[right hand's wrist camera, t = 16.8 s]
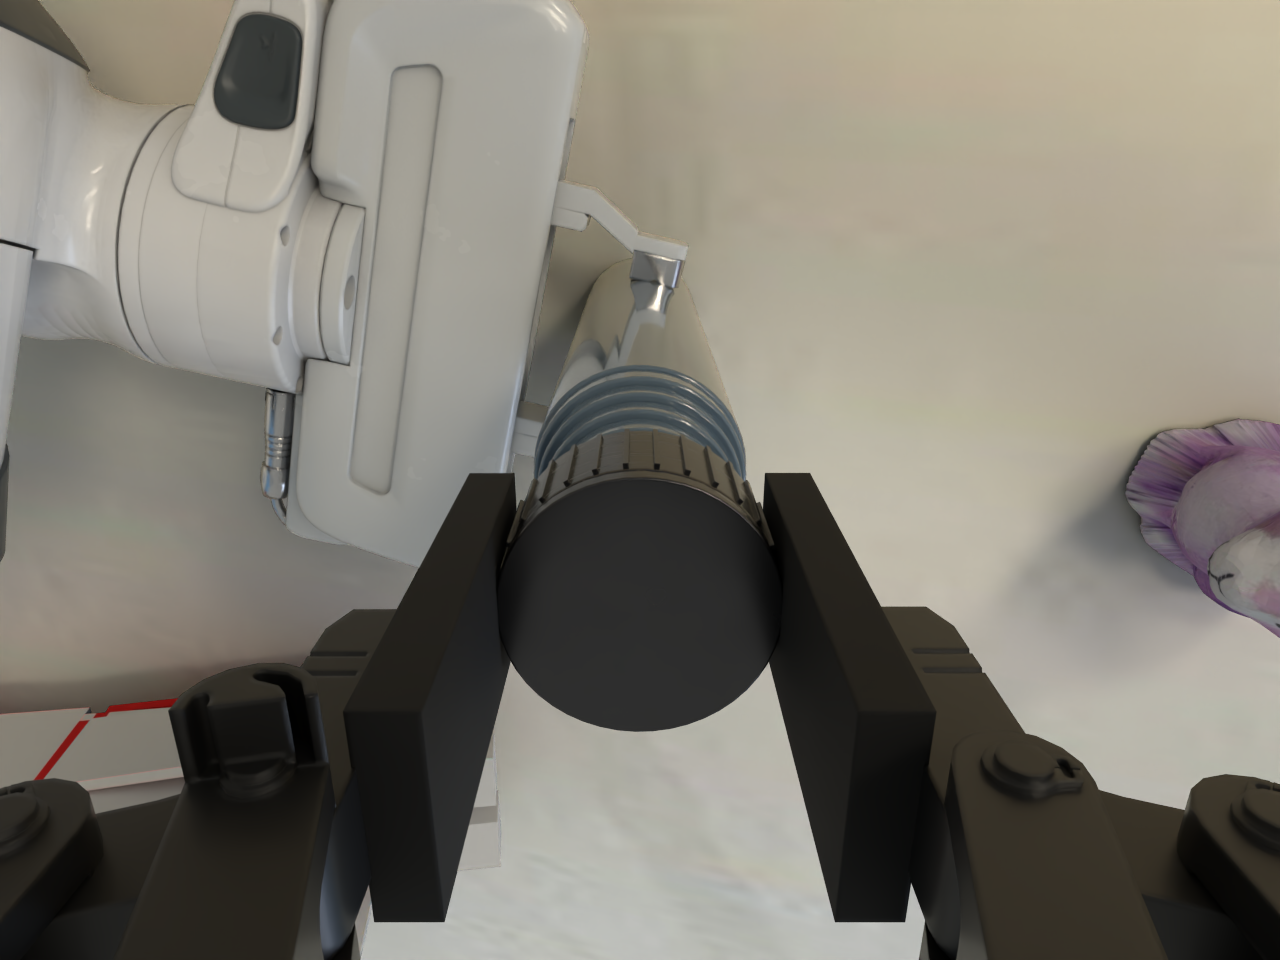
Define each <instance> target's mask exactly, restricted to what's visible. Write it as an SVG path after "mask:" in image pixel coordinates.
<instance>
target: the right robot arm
mask: <svg viewBox="0 0 1280 960" xmlns="http://www.w3.org/2000/svg"><path fill="white" fill-rule="evenodd" d="M763 512H764V514H765V517H766V520H767V523H768V526H769V529H770V532H771V535H772V537H773V540H774V543H775V546H776V549H773V552H774V555H775V559H776V561H777V564H778V567H779V571H780V575H781V579H782V582H783V601H782V616H781V629H780V637H779V640H778V642H777V645H776V648H775V650H774V652H773V654H772V656H771V658H770V660H769V664H770V668H771V672H772V676H773V679H774V683H775V687H776V691H777V695H778V699H779V703H780V707H781V711H782V715H783V719H784V723H785V727H786V731H787V735H788V739H789V743H790V746H791V750H792V754H793V758H794V762H795V766H796V770H797V774H798V778H799V782H800V786H801V790H802V794H803V798H804V802H805V806H806V810H807V814H808V817H809V821H810V825H811V829H812V833H813V837H814V841H815V845H816V849H817V853H818V857H819V861H820V865H821V869H822V873H823V877H824V881H825V885H826V888H827V892H828V896H829V900H830V904H831V908H832V912H833V916H834V920H835V922H905V919H906V913H907V906H908V899H909V893H910V886H911V883H912V886H913V889H914V891H915V894H916V897H917V899H918V902H919V905H920V907H921V910H922V913H923V915H924V918H925V925H924V931H923V938H922V944H921V950H920V956H919V960H1280V784H1277V783H1272V782H1270V781H1267V780H1262V779H1259V778H1256V777H1247V776H1238V775H1228V774H1224V775H1219V776H1213V777H1208V778H1203V779H1202V780H1201V781H1200V782H1199V783H1198V784H1196V785H1195V786H1194V787H1193V788H1192V789H1191V791H1190V795H1189V798H1188V802H1187V805H1186V808H1185V810H1182V809H1177V808H1172V807H1168V806H1163V805H1158V804H1154V803H1149V802H1144V801H1140V800H1135V799H1131V798H1126V797H1122V796H1118V795H1115V794H1111V793H1108V792H1104V791H1101V790H1098V787H1097V785H1096V782H1095V781H1094V779H1093V778H1092V776H1091V775H1090V773H1089V772H1088V771H1087V769H1086V768H1085V766H1084V765H1083V764H1082V763H1081V762H1080V761H1079V760H1077V759H1076V758H1075V757H1073V756H1072V755H1071V754H1069V753H1068V752H1067V751H1065V750H1064V749H1063V748H1061V747H1059V746H1057V745H1055V744H1052V743H1050V742H1048V741H1046V740H1044V739H1042V738H1039V737H1037V736H1034V735H1029V734H1025V732H1024V731H1023V729H1022V728H1021V726H1020V725H1019V723H1018V722H1017V720H1016V719H1015V717H1014V716H1013V714H1012V713H1011V711H1010V710H1009V708H1008V707H1007V705H1006V704H1005V702H1004V701H1003V699H1002V698H1001V696H1000V695H999V693H998V692H997V690H996V689H995V687H994V686H993V684H992V683H991V681H990V680H989V678H988V677H987V675H986V674H985V673H982V668H981V666H980V664H979V663H978V661H977V660H976V658H975V657H974V655H973V654H970V653H969V648H968V646H967V645H966V643H965V642H964V640H963V639H962V637H961V636H960V634H959V633H958V631H957V630H956V628H955V627H954V626H953V625H952V624H950V623H949V622H947V621H946V620H944V619H943V618H941V617H940V616H939V615H937V614H936V613H934V612H933V611H931V610H930V609H929V608H927V607H881V606H880V604H879V602H878V600H877V598H876V596H875V595H874V593H873V591H872V589H871V587H870V585H869V583H868V581H867V579H866V578H865V576H864V574H863V572H862V570H861V568H860V566H859V564H858V563H857V561H856V559H855V557H854V555H853V553H852V551H851V549H850V548H849V546H848V544H847V542H846V540H845V538H844V536H843V534H842V532H841V531H840V529H839V527H838V525H837V523H836V521H835V519H834V517H833V516H832V514H831V512H830V510H829V508H828V506H827V504H826V502H825V500H824V499H823V497H822V495H821V493H820V491H819V489H818V487H817V485H816V484H815V482H814V480H813V478H812V476H811V474H810V473H765V483H764V501H763ZM515 514H516V493H515V476H514V473H469V475H468V477H467V479H466V481H465V482H464V484H463V486H462V488H461V490H460V492H459V494H458V496H457V497H456V499H455V501H454V503H453V505H452V507H451V509H450V511H449V513H448V514H447V516H446V518H445V520H444V522H443V524H442V526H441V528H440V529H439V531H438V533H437V535H436V537H435V539H434V541H433V543H432V544H431V546H430V548H429V550H428V552H427V554H426V556H425V558H424V560H423V561H422V563H421V565H420V567H419V569H418V571H417V573H416V575H415V576H414V578H413V580H412V582H411V584H410V586H409V588H408V590H407V591H406V593H405V595H404V597H403V599H402V601H401V603H400V605H399V607H398V608H397V609H354V610H352V611H351V612H349V613H348V614H346V615H345V616H344V617H342V618H341V619H339V620H338V621H336V622H335V623H334V624H332V625H331V626H329V627H328V628H326V629H325V631H324V632H323V634H322V635H321V637H320V638H319V640H318V641H317V643H316V644H315V646H314V648H313V649H312V651H311V655H310V656H309V657H307V658H306V660H305V661H304V663H303V664H302V666H301V667H296V666H292V665H289V664H285V663H257V664H253V665H248V666H243V667H238V668H233V669H229V670H227V671H224V672H222V673H219V674H217V675H214V676H212V677H209V678H207V679H204V680H202V681H201V682H199V683H198V684H196V685H195V686H193V687H192V688H190V689H189V690H187V691H186V692H184V693H183V694H181V696H180V697H179V698H178V699H177V700H176V702H175V703H174V704H173V705H172V707H171V708H170V709H169V710H168V713H169V717H170V721H171V726H172V730H173V734H174V738H175V742H176V747H177V751H178V755H179V759H180V763H181V768H182V772H183V776H184V780H185V784H184V786H183V789H182V791H181V794H177V795H174V796H170V797H167V798H163V799H160V800H156V801H152V802H147V803H143V804H138V805H133V806H129V807H124V808H120V809H115V810H110V811H106V812H101V813H97V814H95V811H94V807H93V804H92V801H91V797H90V794H89V792H88V791H87V790H85V789H84V788H83V787H82V786H81V785H80V784H78V783H77V782H74V781H68V780H63V779H57V778H50V779H40V780H31V781H24V782H21V783H17V784H13V785H11V786H8V787H7V786H6V787H3V788H0V960H360V951H359V944H358V938H357V931H356V925H355V921H356V918H357V916H358V913H359V910H360V907H361V905H362V902H363V899H364V897H365V894H366V891H367V888H368V886H369V890H370V897H371V903H372V910H373V917H374V922H445V918H446V914H447V910H448V906H449V902H450V898H451V894H452V890H453V886H454V882H455V878H456V874H457V870H458V866H459V863H460V859H461V855H462V851H463V847H464V843H465V839H466V835H467V831H468V827H469V823H470V819H471V815H472V811H473V807H474V803H475V799H476V796H477V792H478V788H479V784H480V780H481V776H482V772H483V768H484V764H485V760H486V756H487V752H488V748H489V744H490V740H491V736H492V732H493V728H494V725H495V721H496V717H497V713H498V709H499V705H500V701H501V697H502V693H503V689H504V685H505V681H506V677H507V673H508V669H509V665H510V661H511V660H510V659H509V657H508V655H507V653H506V650H505V648H504V646H503V643H502V641H501V638H500V634H499V624H498V610H497V594H496V588H497V583H498V578H499V573H500V567H501V564H502V561H503V558H504V555H505V552H506V549H507V547H506V546H505V543H506V540H507V537H508V534H509V531H510V529H511V526H512V523H513V520H514V517H515Z"/></svg>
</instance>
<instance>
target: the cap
mask: <svg viewBox="0 0 1280 960" xmlns="http://www.w3.org/2000/svg"><path fill="white" fill-rule="evenodd" d="M505 546H506V547H507V549H506V552H505V555H504V558H503V561H502V564H501V567H500V573H499V578H498V583H497V588H496V594H497V610H498V624H499V634H500V638H501V641H502V643H503V646H504V648H505V650H506V653H507V655H508V657H509V659H510V660H511V662H512V664H513V665H514V667H515V669H516V670H517V672H518V673H519V674H520V676H521V677H522V678H523V679H524V681H525V682H526V683H527V684H528V685H529V686H530V687H531V688H532V689H533V690H534V691H535V692H536V693H537V694H538V695H539V696H540V697H542V698H543V699H544V700H546V701H547V702H548V703H550V704H551V705H552V706H554V707H555V708H557V709H559V710H561V711H562V712H564V713H566V714H567V715H570V716H572V717H574V718H576V719H579V720H581V721H583V722H587V723H590V724H593V725H596V726H599V727H604V728H609V729H614V730H622V731H634V732H638V731H658V730H665V729H671V728H676V727H680V726H684V725H688V724H690V723H693V722H696V721H698V720H701V719H704V718H706V717H708V716H710V715H712V714H714V713H716V712H718V711H720V710H721V709H723V708H724V707H726V706H727V705H729V704H730V703H732V702H733V701H734V700H736V699H737V698H738V697H739V696H740V695H741V694H743V693H744V692H745V691H746V690H747V689H748V688H749V687H750V686H751V685H752V684H753V683H754V681H755V680H756V679H757V678H758V677H759V675H760V674H761V673H762V671H763V670H764V668H765V667H766V665H767V664H768V662H769V660H770V658H771V656H772V654H773V652H774V650H775V648H776V645H777V642H778V640H779V637H780V629H781V616H782V601H783V582H782V579H781V575H780V571H779V567H778V564H777V561H776V559H775V555H774V552H773V549H776V546H775V543H774V540H773V537H772V535H771V532H770V529H769V526H768V523H767V520H766V517H765V514H764V512H763V509H762V506H761V503H760V502H758V503H756V501H755V498H754V495H753V492H752V489H751V486H750V483H749V482H748V480H746V481H743V479H742V478H741V477H740V476H739V475H738V473H737V472H736V471H735V470H734V467H733V464H732V463H731V462H730V461H728V462H726V461H724V460H723V459H722V458H721V457H719V456H718V455H716V454H715V453H713V452H712V451H711V447H709V446H708V445H706V446H705V447H703V446H701V445H699V444H698V443H696V442H693V441H691V440H688V439H686V436H685V435H682V434H681V435H680V436H676V435H672V434H667V433H663V432H658V429H653V431H630V429H624V432H618V433H612V434H608V435H604V436H602V434H598V435H597V437H596V438H594V439H591V440H589V441H587V442H584V443H582V444H580V445H578V446H577V445H576V444H574V445H572V446H571V449H570V450H569V451H568V452H566V453H564V454H563V455H562V456H561V457H559V458H558V459H557V460H555V461H554V460H553V459H552V460H551V461H549V464H548V468H547V469H546V470H545V471H544V472H543V473H542V474H541V475H540V476H539V478H538V479H535V478H534V479H533V480H532V482H531V485H530V488H529V491H528V494H527V496H526V498H525V500H524V501H523V500H520V503H519V505H518V508H517V511H516V514H515V517H514V520H513V523H512V526H511V529H510V531H509V534H508V537H507V540H506V543H505Z"/></svg>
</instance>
